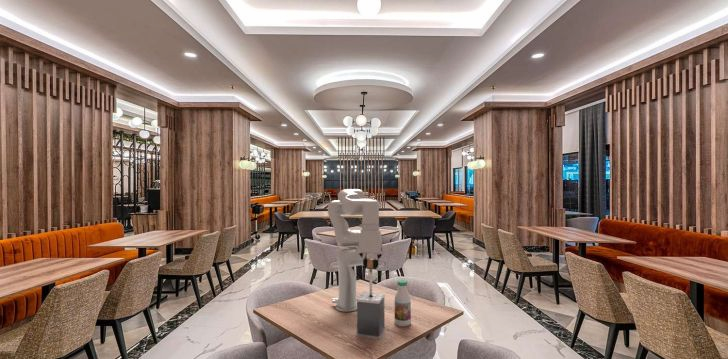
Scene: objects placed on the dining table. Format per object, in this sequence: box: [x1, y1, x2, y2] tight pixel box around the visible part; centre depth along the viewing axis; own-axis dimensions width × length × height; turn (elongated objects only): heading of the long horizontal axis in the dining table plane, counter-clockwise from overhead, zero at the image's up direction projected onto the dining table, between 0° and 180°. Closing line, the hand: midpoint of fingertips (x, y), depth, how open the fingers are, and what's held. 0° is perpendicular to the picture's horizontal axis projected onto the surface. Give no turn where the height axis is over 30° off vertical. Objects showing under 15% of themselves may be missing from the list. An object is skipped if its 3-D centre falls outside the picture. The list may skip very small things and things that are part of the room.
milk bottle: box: [394, 279, 412, 327], centre depth 149 cm, size 8×8×20 cm
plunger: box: [365, 257, 375, 297], centre depth 140 cm, size 8×8×20 cm
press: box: [356, 291, 386, 340], centre depth 141 cm, size 10×13×16 cm
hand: (370, 267), depth 140 cm, fingers closed on plunger, 4 cm apart
